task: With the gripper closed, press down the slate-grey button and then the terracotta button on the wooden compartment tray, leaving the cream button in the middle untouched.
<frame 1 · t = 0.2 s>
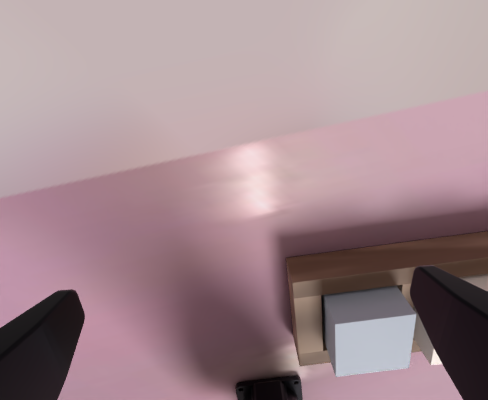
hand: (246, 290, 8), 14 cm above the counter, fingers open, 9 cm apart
button cream: (458, 315, 23), point 4 cm above the counter, slide at 0.0 cm
button slate: (364, 327, 24), point 4 cm above the counter, slide at 0.0 cm
wooden compartment tray: (429, 282, 27), on the counter
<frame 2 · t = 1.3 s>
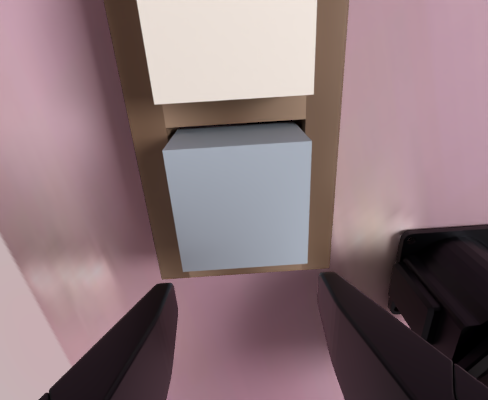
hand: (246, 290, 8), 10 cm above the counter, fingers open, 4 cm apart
button cream: (228, 13, 11), point 4 cm above the counter, slide at 0.0 cm
button slate: (240, 194, 14), point 4 cm above the counter, slide at 0.0 cm
wooden compartment tray: (229, 22, 14), on the counter
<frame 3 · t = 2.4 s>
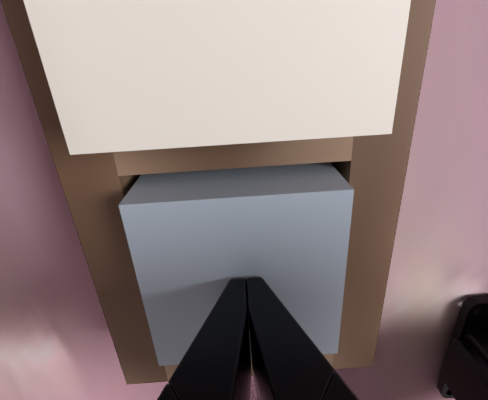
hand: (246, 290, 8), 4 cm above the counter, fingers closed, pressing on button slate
button slate: (241, 251, 10), point 2 cm above the counter, slide at 1.4 cm, touching gripper
wooden compartment tray: (224, 3, 9), on the counter
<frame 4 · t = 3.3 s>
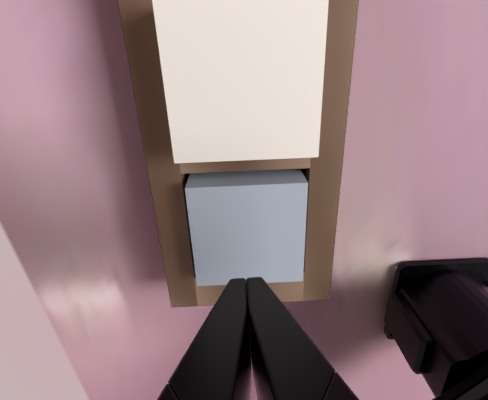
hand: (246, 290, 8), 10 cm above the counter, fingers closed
button cream: (242, 79, 12), point 4 cm above the counter, slide at 0.0 cm
button slate: (247, 220, 16), point 2 cm above the counter, slide at 1.4 cm
wooden compartment tray: (240, 74, 16), on the counter
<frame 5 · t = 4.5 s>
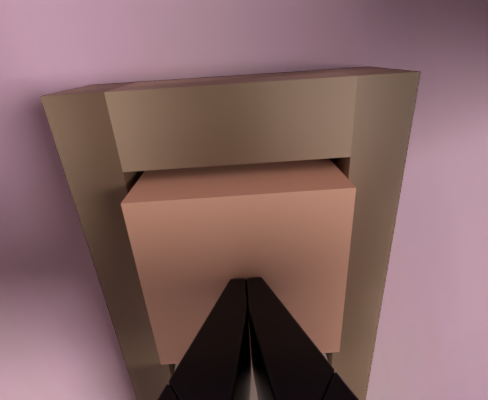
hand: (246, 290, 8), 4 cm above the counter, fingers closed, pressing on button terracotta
button terracotta: (243, 250, 10), point 3 cm above the counter, slide at 1.2 cm, touching gripper
wooden compartment tray: (250, 340, 15), on the counter
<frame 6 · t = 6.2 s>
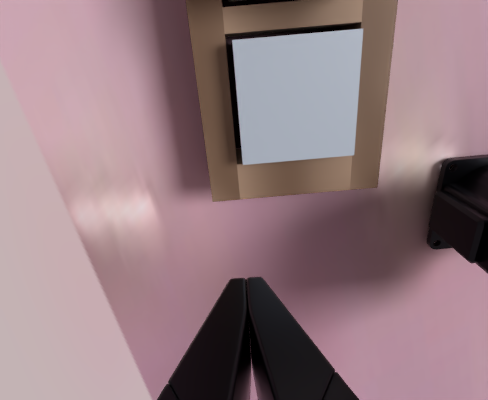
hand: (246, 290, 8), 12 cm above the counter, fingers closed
button slate: (291, 97, 16), point 2 cm above the counter, slide at 1.4 cm
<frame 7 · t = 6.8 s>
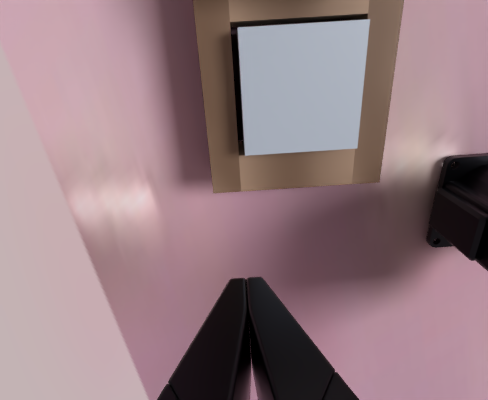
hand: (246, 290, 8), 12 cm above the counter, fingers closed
button slate: (295, 89, 15), point 2 cm above the counter, slide at 1.4 cm
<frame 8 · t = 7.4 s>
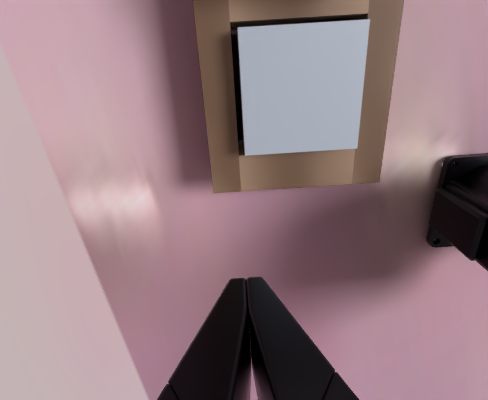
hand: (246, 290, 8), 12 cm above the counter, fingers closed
button slate: (295, 89, 15), point 2 cm above the counter, slide at 1.4 cm
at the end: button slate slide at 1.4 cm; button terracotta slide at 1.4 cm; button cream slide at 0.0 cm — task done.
